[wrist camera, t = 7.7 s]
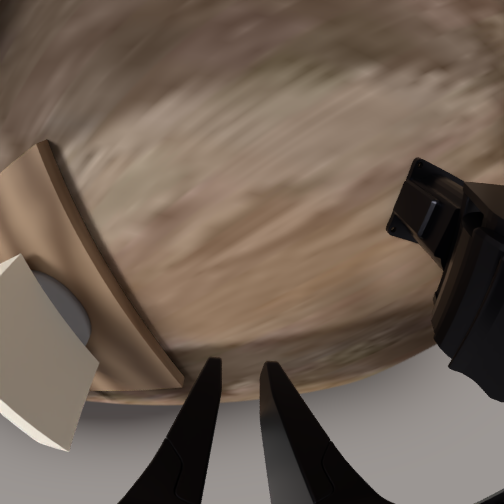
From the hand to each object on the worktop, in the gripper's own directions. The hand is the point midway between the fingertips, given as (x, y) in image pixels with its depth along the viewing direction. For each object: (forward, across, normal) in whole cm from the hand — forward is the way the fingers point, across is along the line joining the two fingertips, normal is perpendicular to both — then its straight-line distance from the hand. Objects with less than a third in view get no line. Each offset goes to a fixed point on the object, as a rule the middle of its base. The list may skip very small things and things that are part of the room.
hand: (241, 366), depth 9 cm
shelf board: (+14, +18, +12) cm, 25 cm away
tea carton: (+12, +18, +12) cm, 25 cm away
